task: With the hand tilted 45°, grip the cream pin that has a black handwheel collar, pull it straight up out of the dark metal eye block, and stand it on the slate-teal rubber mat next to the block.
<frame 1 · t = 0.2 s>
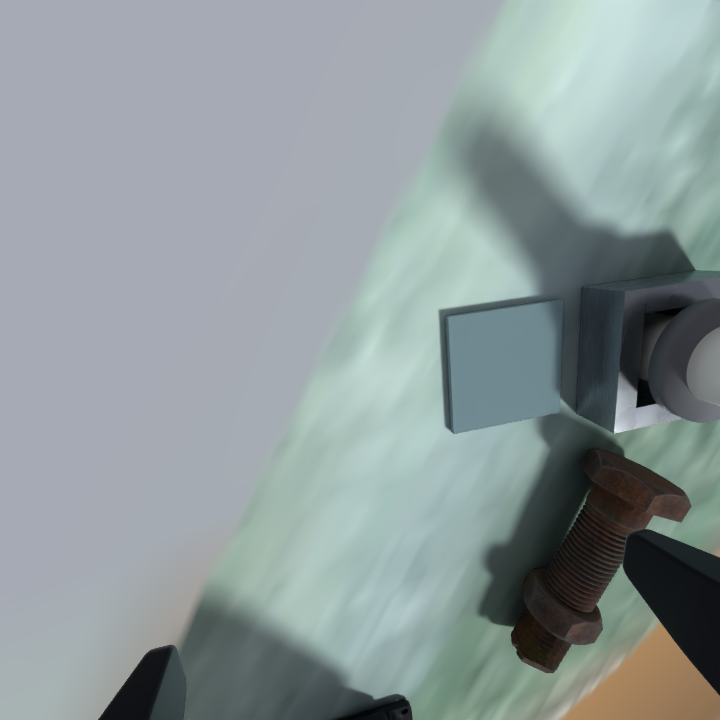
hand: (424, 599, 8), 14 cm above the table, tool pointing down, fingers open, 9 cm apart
eye block: (635, 343, 25), on the table
mat: (503, 366, 23), on the table
bolt: (554, 541, 28), on the table
pin: (635, 343, 25), resting in eye block
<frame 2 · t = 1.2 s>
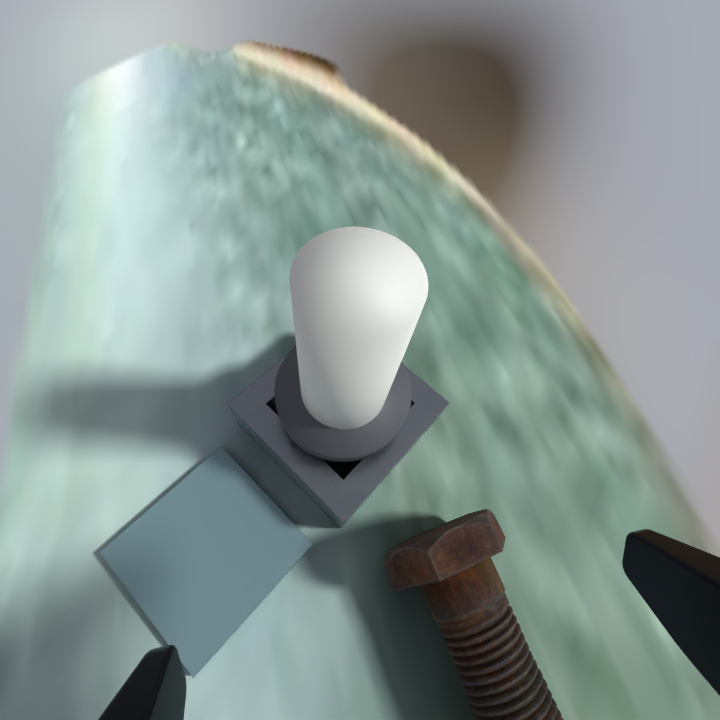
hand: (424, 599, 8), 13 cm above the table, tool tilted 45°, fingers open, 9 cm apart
eye block: (339, 422, 23), on the table
mat: (210, 548, 19), on the table
bolt: (492, 702, 18), on the table
pin: (339, 422, 23), resting in eye block
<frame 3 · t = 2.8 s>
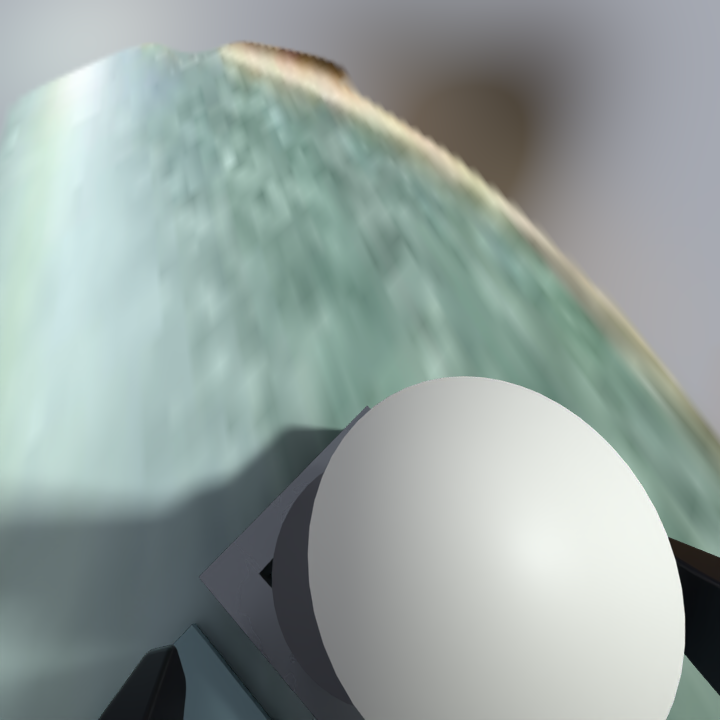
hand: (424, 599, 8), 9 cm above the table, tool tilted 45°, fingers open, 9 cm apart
eye block: (368, 568, 16), on the table
pin: (368, 568, 16), resting in eye block
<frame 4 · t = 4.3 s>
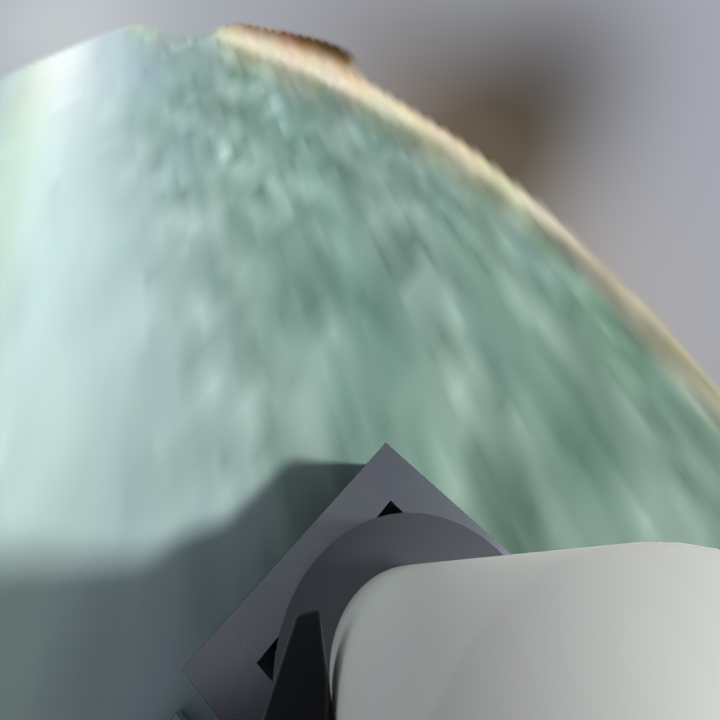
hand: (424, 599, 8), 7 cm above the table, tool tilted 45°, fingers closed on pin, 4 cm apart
eye block: (386, 635, 13), on the table
pin: (386, 635, 13), resting in eye block, touching gripper
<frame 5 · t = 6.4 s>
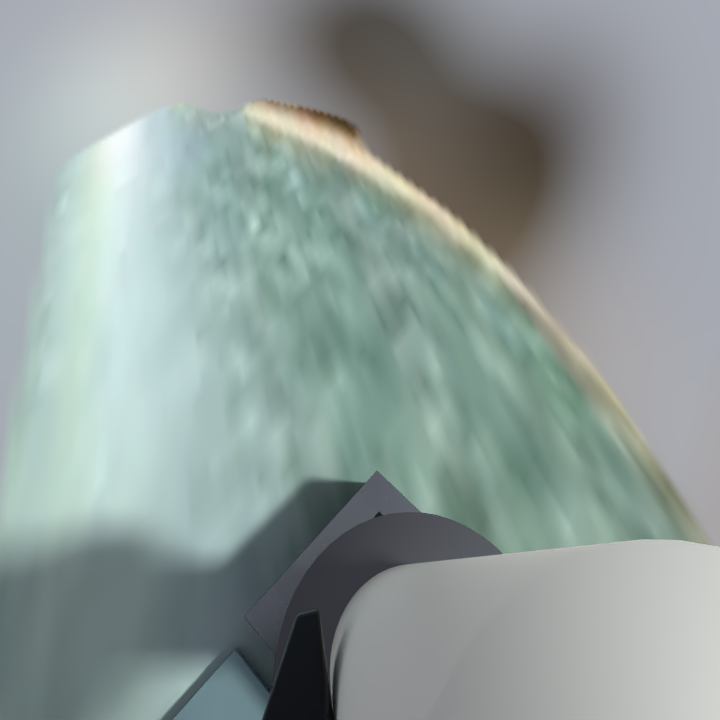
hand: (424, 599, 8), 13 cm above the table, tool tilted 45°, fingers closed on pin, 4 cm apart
eye block: (375, 604, 19), on the table
pin: (386, 634, 13), point 6 cm above the table, touching gripper
when the fingers open (8 cm above the table, at t = 8.8 s): pin stays where it is, resting on mat.
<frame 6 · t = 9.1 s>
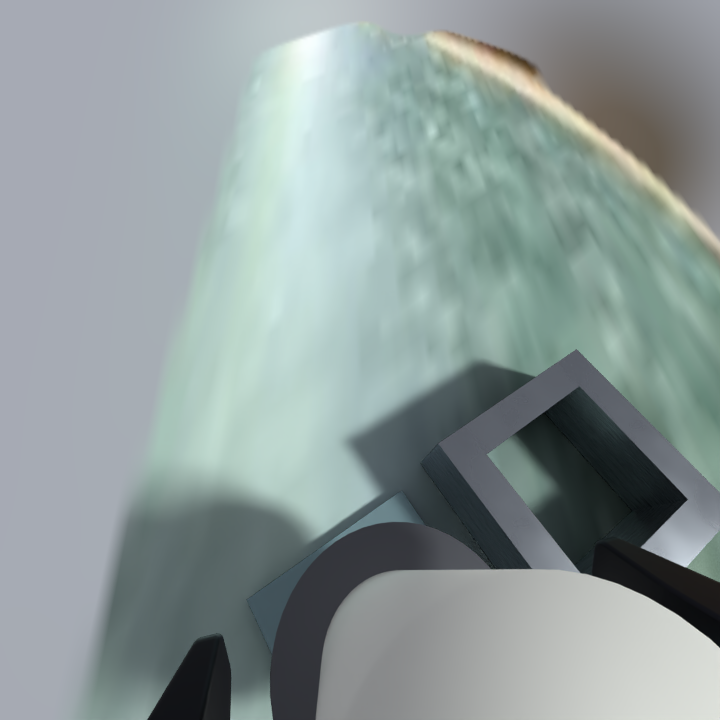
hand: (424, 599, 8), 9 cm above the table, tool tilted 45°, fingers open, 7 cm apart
eye block: (546, 491, 17), on the table
mat: (380, 629, 14), on the table
pin: (381, 634, 14), resting on mat
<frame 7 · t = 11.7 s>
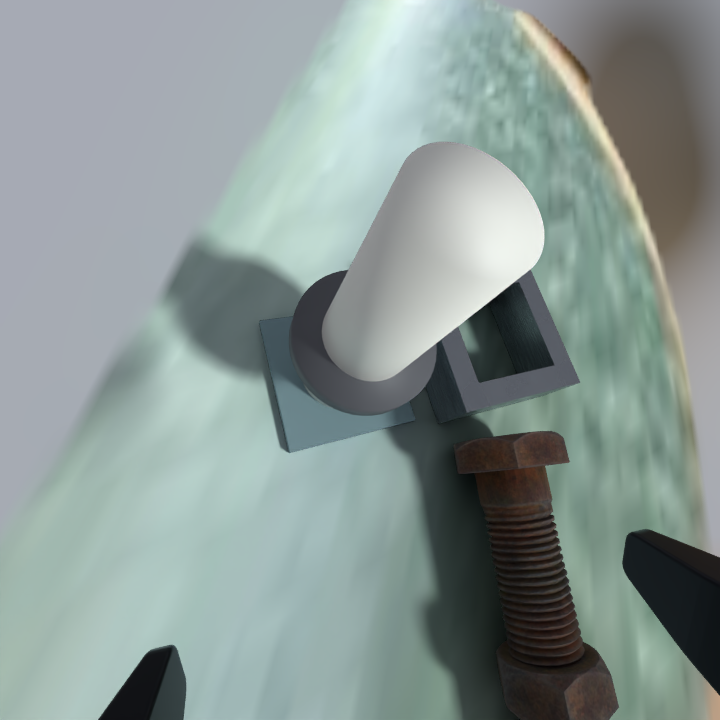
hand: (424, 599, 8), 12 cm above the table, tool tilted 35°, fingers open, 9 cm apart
eye block: (470, 348, 25), on the table
mat: (337, 373, 22), on the table
bolt: (499, 590, 21), on the table
pin: (338, 372, 21), resting on mat
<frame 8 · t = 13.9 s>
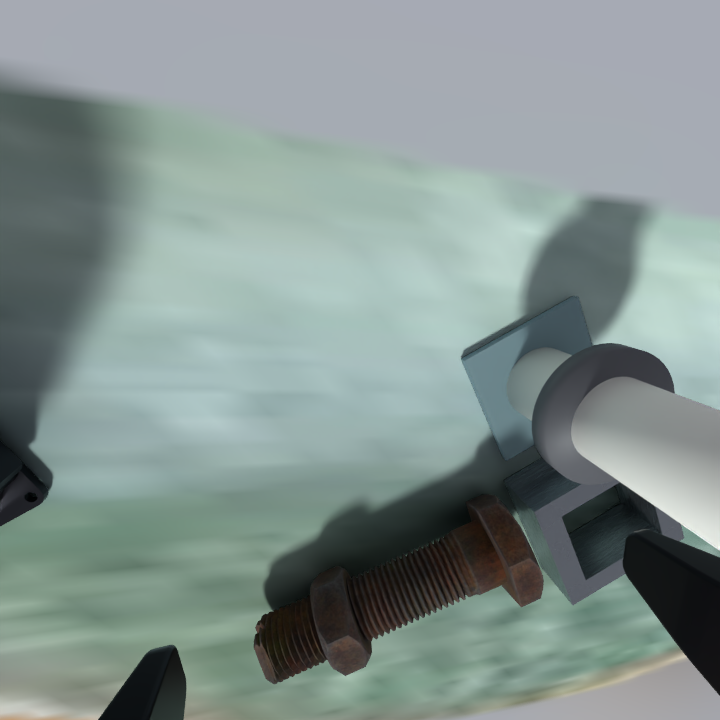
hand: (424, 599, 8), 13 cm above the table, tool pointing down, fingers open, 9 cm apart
eye block: (576, 494, 25), on the table
mat: (536, 380, 22), on the table
bolt: (379, 557, 24), on the table
pin: (539, 382, 22), resting on mat
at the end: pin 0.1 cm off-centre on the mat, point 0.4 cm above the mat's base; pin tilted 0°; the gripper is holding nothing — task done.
